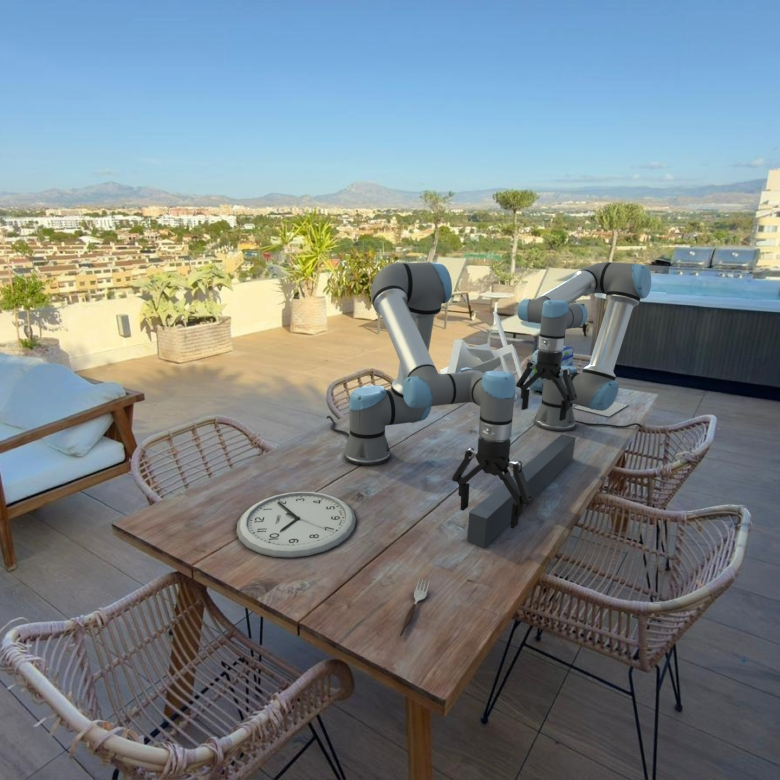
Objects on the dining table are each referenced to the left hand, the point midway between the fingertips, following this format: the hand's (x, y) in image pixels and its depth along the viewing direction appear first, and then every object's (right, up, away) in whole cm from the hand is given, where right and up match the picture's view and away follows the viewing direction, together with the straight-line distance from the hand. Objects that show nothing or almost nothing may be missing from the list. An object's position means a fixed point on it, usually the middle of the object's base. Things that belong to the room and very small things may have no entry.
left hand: (488, 517), depth 129 cm
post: (+16, +1, +22) cm, 27 cm away
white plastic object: (+17, +30, +114) cm, 119 cm away
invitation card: (+67, +24, +97) cm, 121 cm away
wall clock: (-48, -3, +5) cm, 48 cm away
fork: (-20, -13, -25) cm, 34 cm away
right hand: (+25, +24, +41) cm, 53 cm away
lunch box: (+52, +32, +121) cm, 135 cm away
